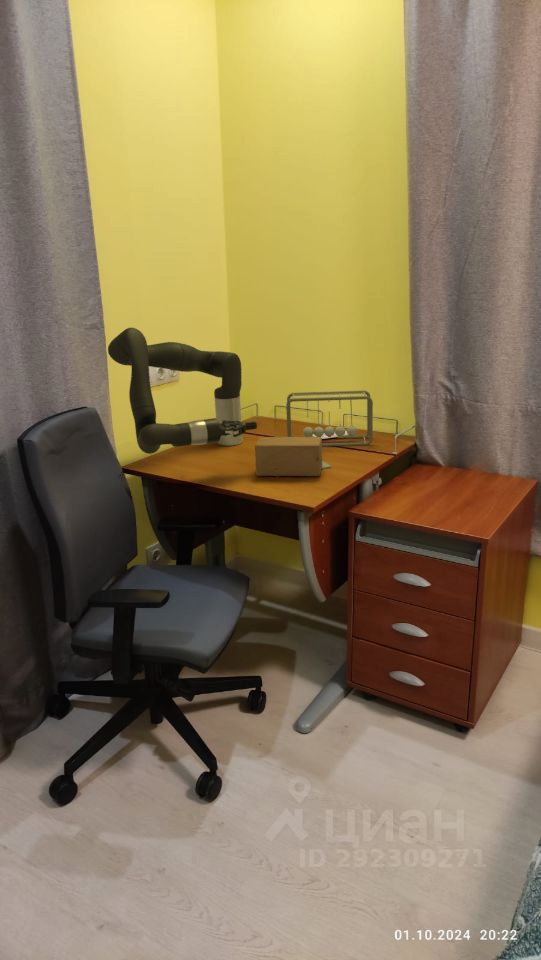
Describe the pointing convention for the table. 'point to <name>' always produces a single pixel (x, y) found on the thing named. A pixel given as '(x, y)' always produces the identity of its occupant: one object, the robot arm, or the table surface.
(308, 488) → the table surface
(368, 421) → the newton's cradle
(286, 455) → the wooden block
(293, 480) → the table surface
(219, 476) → the table surface
